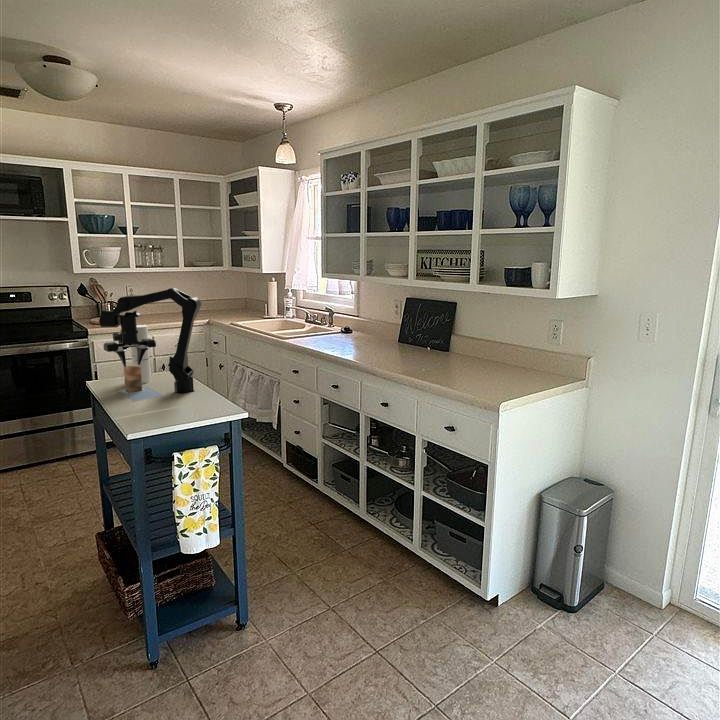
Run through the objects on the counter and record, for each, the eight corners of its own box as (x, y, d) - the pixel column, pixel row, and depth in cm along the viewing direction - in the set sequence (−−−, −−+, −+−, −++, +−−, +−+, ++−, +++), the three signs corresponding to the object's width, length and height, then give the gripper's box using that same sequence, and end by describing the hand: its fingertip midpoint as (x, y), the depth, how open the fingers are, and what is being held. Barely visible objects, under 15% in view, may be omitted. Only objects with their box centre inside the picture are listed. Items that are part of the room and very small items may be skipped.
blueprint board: (147, 387, 222) (147, 385, 222) (165, 397, 208) (164, 395, 208) (117, 392, 214) (117, 390, 214) (133, 402, 200) (133, 400, 200)
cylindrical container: (143, 380, 234) (139, 324, 229) (154, 382, 231) (151, 325, 226) (129, 383, 228) (125, 326, 222) (141, 385, 224) (137, 327, 219)
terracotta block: (137, 376, 217) (136, 364, 216) (141, 379, 213) (140, 367, 212) (124, 378, 213) (123, 366, 212) (128, 380, 210) (127, 368, 209)
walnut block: (137, 388, 218) (137, 376, 217) (142, 390, 214) (141, 379, 213) (125, 390, 215) (124, 378, 213) (129, 393, 211) (128, 380, 210)
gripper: (145, 323, 221) (147, 359, 224) (97, 327, 209) (101, 365, 212) (155, 326, 213) (157, 364, 216) (106, 330, 201) (109, 370, 204)
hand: (131, 365), depth 212 cm, fingers open, 5 cm apart
